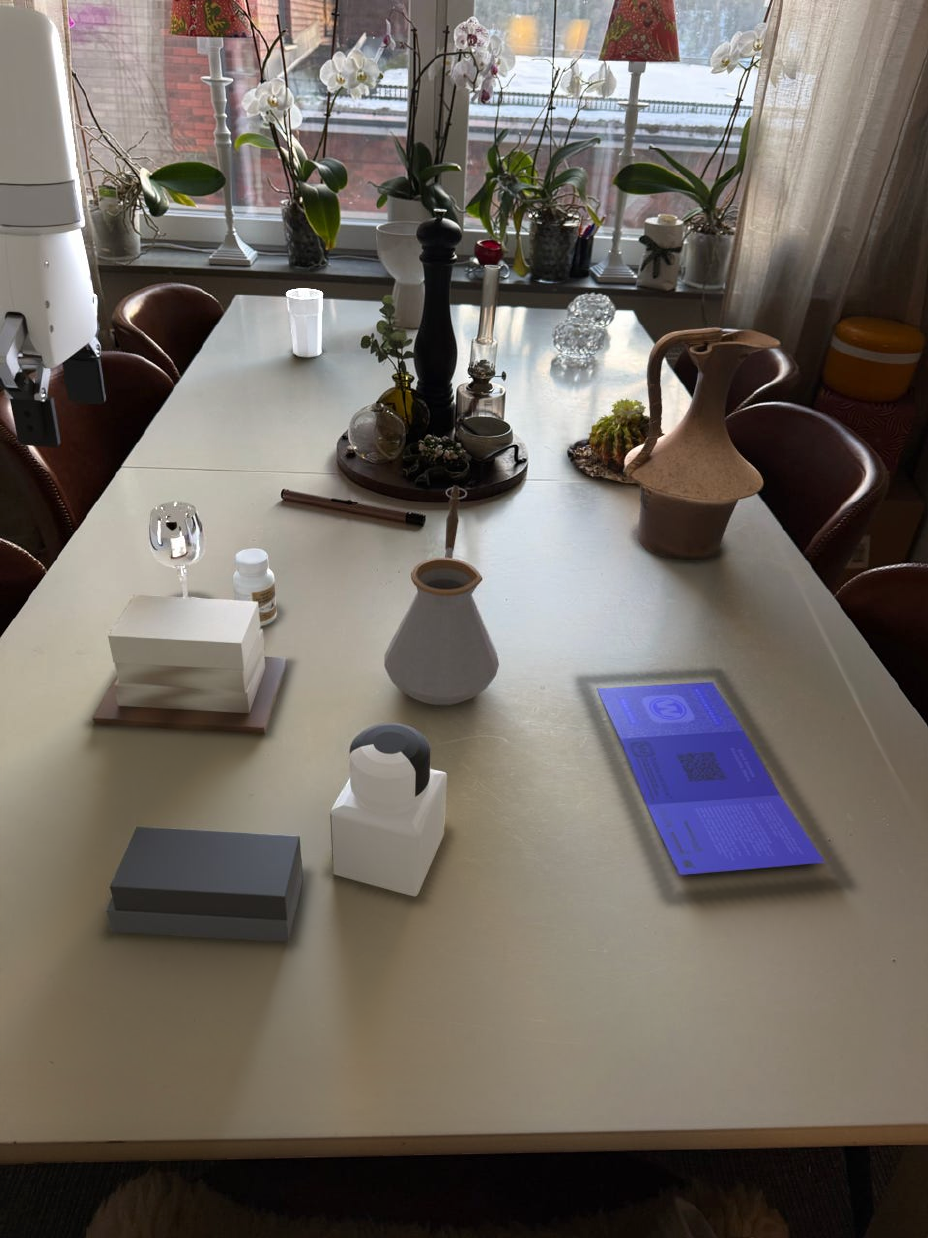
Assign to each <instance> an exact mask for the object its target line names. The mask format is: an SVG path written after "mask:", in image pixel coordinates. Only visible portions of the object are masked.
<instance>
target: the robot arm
mask: <svg viewBox="0 0 928 1238" xmlns="http://www.w3.org/2000/svg"><path fill="white" fill-rule="evenodd" d="M66 83H67V82H66V75H65V69H64V62H63V53H62V47H61V42H60V36H59V33H58V30H57V27H56V26H55V24H54V23H53V21H52V20H51V19H50V17H48V16H47V15H46V14H45V13H43V12H41V11H38V10H35V9H32V8H27V7H21V6H13V5H12V6H11V5H0V387H1V388H2V389H3V390H4V396H5V397H6V399H8V400H9V403H10V408H11V414H12V418H13V423H14V428H15V433H16V438H17V442H18V443H19V444H20V445H22V446H30V447H40V448H41V447H42V448H52V449H53V448H54V449H55V448H57V447H58V446H60V445H61V436H60V431H59V423H58V419H57V412H56V407H55V401H54V397H53V396H52V397H51V396H48V392H49V386H50V378H51V373H52V369H55V368H57V367H58V366H60V365H61V364H62V371H63V377H64V382H65V389H66V395H67V399H68V401H70V402H71V403H80V404H93V405H103V404H104V403H105V402H106V401H107V396H106V395H107V394H106V389H105V388H106V387H105V382H104V375H103V374H104V373H103V367H102V359H101V357H100V356H101V354H102V346H101V344H100V342H99V340H98V336H99V331H100V326H101V325H100V323H99V321H98V303H99V302H98V301H99V300H98V299H99V298H98V296H97V295H96V294H95V293H94V288H93V282H92V275H91V271H90V266H89V261H88V260H89V259H88V256H87V255H88V254H87V252H86V247H85V243H84V237H83V234H82V230H81V229H83V228H84V227H86V220H85V212H84V206H83V205H84V204H83V198H82V192H81V191H82V190H81V184H80V178H79V170H78V163H77V156H76V148H75V142H74V134H73V126H72V120H71V119H72V118H71V112H70V104H69V98H68V90H67V84H66ZM24 355H30V356H24ZM31 356H40V357H31ZM23 370H28V371H35V378H34V380H33V379H32V378H31V377H30V376H29V374H27V373H26V372H24V371H23Z"/></svg>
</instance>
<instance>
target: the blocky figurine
mask: <svg viewBox="0 0 928 1238" xmlns="http://www.w3.org/2000/svg"><path fill="white" fill-rule="evenodd" d="M431 750H432V749H431V745H430V742H429V740H428V739H427V738H426V737H425V735H424V734H422V732H420V731H419V730H417V729H415V727H412V726H409V725H407V724H403V723H398V722H384V723H378V724H374V725H371V726H369V727H367V728H365V729H364V730H362V731H361V732H359V734H357V735H356V736H355V737H354V739H353V740H352V742H351V744H350V746H349V779H348V780H347V782H346V784H345V785H344V787H343V788H342V791H340V794H339V795H338V797H337V799H336V800H335V802H334V803H333V806H332V807H331V809H330V812H329V818H330V839H331V840H330V841H331V859H332V873H333V875H335V876H338V877H342V878H344V879H348V880H352V881H355V882H359V883H363V884H368V885H369V886H373V887H377V888H381V889H385V890H388V891H392V892H396V893H399V894H403V895H405V896H406V895H407V896H411V897H417V896H418V895H419V893H420V891H421V889H422V886H423V884H424V882H425V879H426V877H427V875H428V873H429V870H430V868H431V865H432V863H433V861H434V858H435V857H436V854H437V852H438V849H439V847H440V845H441V842H442V840H443V838H444V836H445V823H446V822H445V821H446V805H447V804H446V802H447V801H446V799H447V784H448V783H447V782H448V781H447V779H448V776H447V773H446V772H444V771H442V770H438V769H437V770H436V769H432V768H431V757H432V756H431V755H432V754H431V753H432V751H431Z"/></svg>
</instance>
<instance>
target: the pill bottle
mask: <svg viewBox="0 0 928 1238" xmlns="http://www.w3.org/2000/svg"><path fill="white" fill-rule="evenodd" d="M234 563H235V565H234V566H235V572H234V573H233V576H232V586H233V587H232V588H233V596H234V600H236V601H254V602H258V606H259V617H260V627H262V626H263V627H264V626H266V625H269V624H271V623H273V622H274V621H275V619H276V618H277V615H278V612H277V595H276V582H275V575H274V572H273V571H272V570H271V569H270V565H269V564H270V563H269V556H268V553H267V552H266V551H264V550H263V549H260V548H248V549H243V550H241V551H239V552H237V553H236V554H235V556H234Z"/></svg>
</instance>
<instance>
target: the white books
mask: <svg viewBox="0 0 928 1238" xmlns="http://www.w3.org/2000/svg"><path fill="white" fill-rule="evenodd" d="M114 666H115V671H116V675H115V677H114V678H113V680H112V682H111V684H110V685H109V688H108V689H107V691H106V693H105V694H104V696H103V697H102V700H101V701H100V703H99V705H98V707H97V708H96V711H95V712H94V713H93V716H92V723H93V725H95V726H97V725H98V726H112V727H113V726H114V727H129V728H148V729H163V730H165V729H166V730H180V731H181V730H182V731H197V732H215V733H216V732H217V733H232V734H233V733H234V734H235V733H236V734H251V735H266V732H267V729H268V726H269V723H270V721H271V716H272V714H273V712H274V711H273V710H274V708H275V704H276V701H277V698H278V695H279V691H280V689H281V686H282V682H283V679H284V676H285V673H286V669H287V667H288V658H287V657H276V656H265V639H264V629H263V628H260V629H259V632H258V635H257V637H256V640H255V642H254V645H253V648H252V650H251V653H250V656H249V658H248V661H247V663H246V666H245V669H244V670H235V669H218V668H200V667H183V666H166V665H148V664H131V663H114Z"/></svg>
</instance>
